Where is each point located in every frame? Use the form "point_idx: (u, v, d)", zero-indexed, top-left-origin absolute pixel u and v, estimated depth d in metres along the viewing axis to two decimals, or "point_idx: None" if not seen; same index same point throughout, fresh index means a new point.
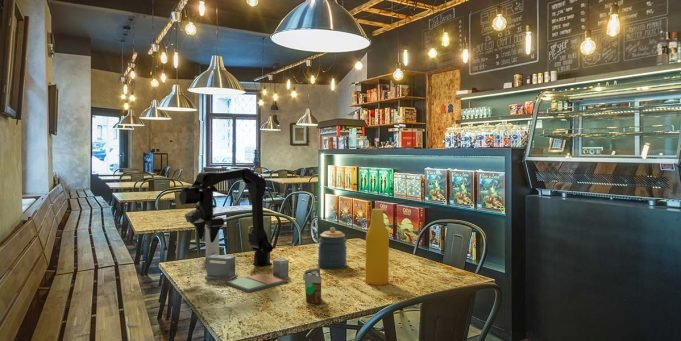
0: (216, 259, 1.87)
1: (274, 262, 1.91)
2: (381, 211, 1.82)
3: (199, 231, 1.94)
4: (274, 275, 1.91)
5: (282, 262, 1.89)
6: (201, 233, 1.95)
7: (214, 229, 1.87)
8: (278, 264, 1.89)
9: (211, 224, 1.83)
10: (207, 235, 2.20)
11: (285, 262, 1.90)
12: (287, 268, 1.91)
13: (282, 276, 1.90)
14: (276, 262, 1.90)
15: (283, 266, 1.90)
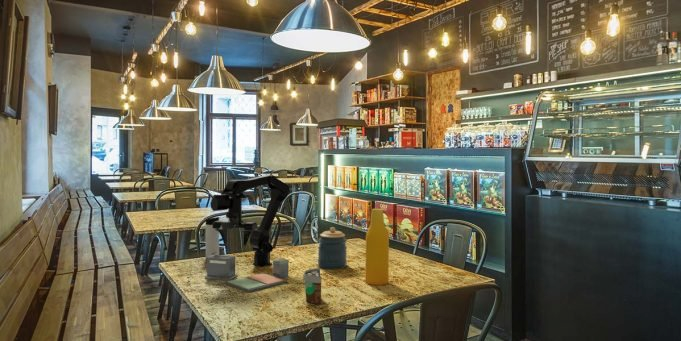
0: (216, 259, 1.87)
1: (274, 262, 1.91)
2: (381, 211, 1.82)
3: (224, 237, 2.02)
4: (274, 275, 1.91)
5: (282, 262, 1.90)
6: (225, 238, 2.03)
7: (247, 233, 2.00)
8: (278, 264, 1.89)
9: (251, 228, 1.96)
10: (207, 235, 2.20)
11: (285, 262, 1.90)
12: (287, 268, 1.91)
13: (282, 276, 1.90)
14: (276, 262, 1.90)
15: (283, 266, 1.90)
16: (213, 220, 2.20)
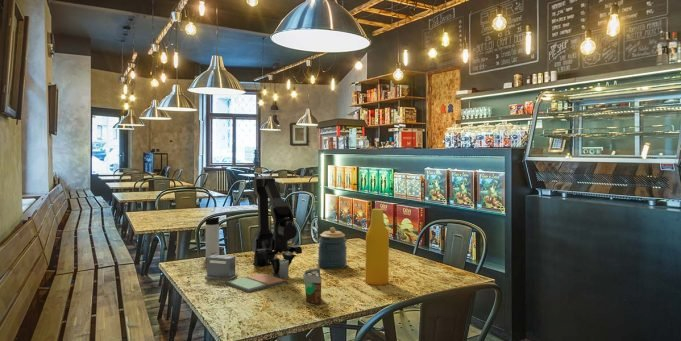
0: (216, 259, 1.87)
1: None
2: (381, 211, 1.82)
3: None
4: (274, 275, 1.91)
5: (282, 262, 1.90)
6: None
7: (274, 261, 1.89)
8: None
9: None
10: (207, 235, 2.20)
11: (285, 262, 1.90)
12: (287, 268, 1.91)
13: (282, 276, 1.90)
14: None
15: (283, 266, 1.90)
16: (213, 220, 2.20)
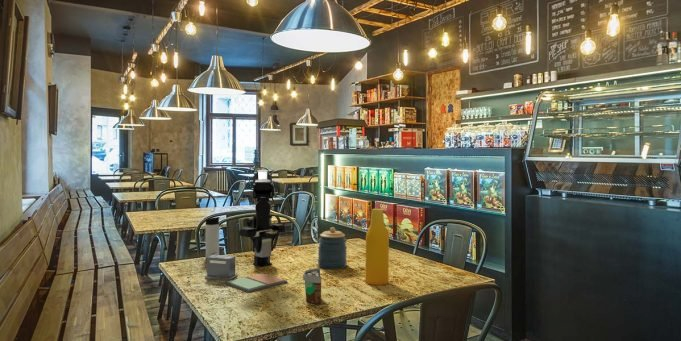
0: (216, 259, 1.87)
1: None
2: (381, 211, 1.82)
3: None
4: (256, 254, 1.83)
5: (265, 240, 1.82)
6: None
7: (256, 239, 1.81)
8: None
9: None
10: (207, 235, 2.20)
11: (267, 240, 1.83)
12: (270, 247, 1.83)
13: (264, 255, 1.82)
14: None
15: (265, 244, 1.82)
16: (213, 220, 2.20)
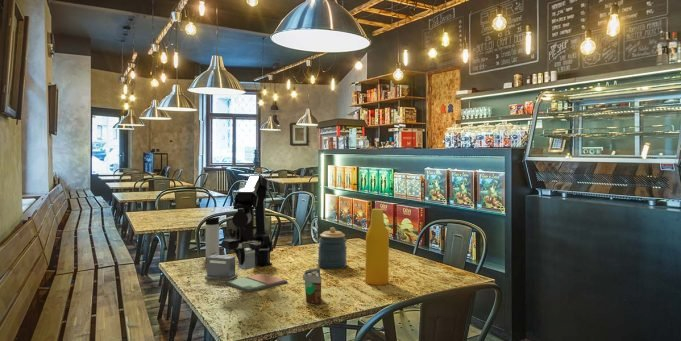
0: (216, 259, 1.87)
1: None
2: (381, 211, 1.82)
3: None
4: (239, 266, 1.78)
5: (248, 251, 1.76)
6: None
7: (239, 251, 1.75)
8: None
9: None
10: (207, 235, 2.20)
11: (251, 252, 1.77)
12: (253, 258, 1.78)
13: (248, 267, 1.76)
14: None
15: (249, 256, 1.76)
16: (213, 220, 2.20)
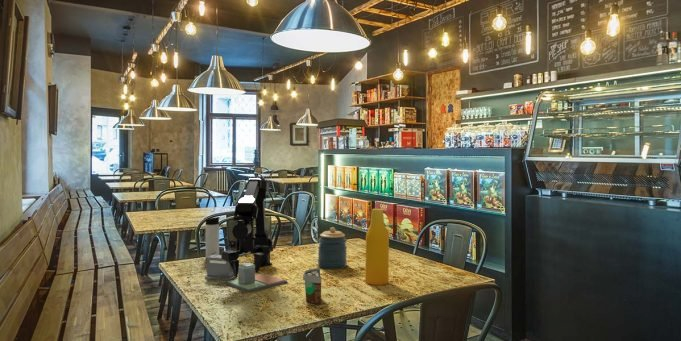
0: (216, 259, 1.87)
1: (239, 267, 1.77)
2: (381, 211, 1.82)
3: (255, 264, 1.82)
4: (239, 281, 1.78)
5: (248, 267, 1.76)
6: (256, 266, 1.81)
7: (234, 263, 1.74)
8: (243, 269, 1.76)
9: None
10: (207, 235, 2.20)
11: (251, 267, 1.77)
12: (253, 273, 1.78)
13: (248, 282, 1.76)
14: (241, 267, 1.77)
15: (249, 271, 1.76)
16: (213, 220, 2.20)
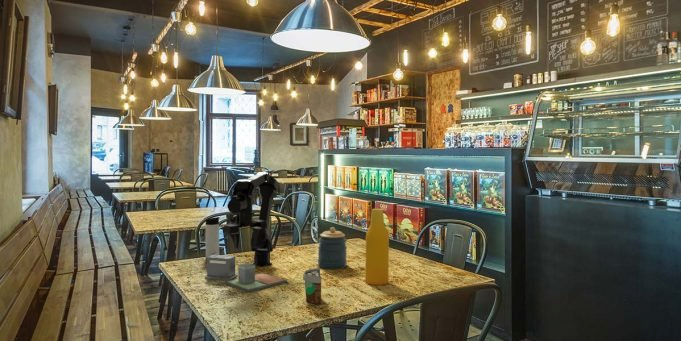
0: (216, 259, 1.87)
1: (239, 267, 1.77)
2: (381, 211, 1.82)
3: (254, 237, 1.99)
4: (239, 281, 1.78)
5: (248, 267, 1.76)
6: (255, 239, 1.98)
7: (234, 236, 1.90)
8: (243, 269, 1.76)
9: None
10: (207, 235, 2.20)
11: (251, 267, 1.77)
12: (253, 273, 1.78)
13: (248, 282, 1.76)
14: (241, 267, 1.77)
15: (249, 271, 1.76)
16: (213, 220, 2.20)
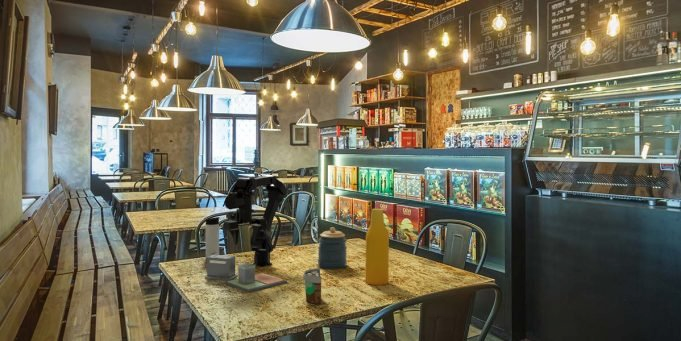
0: (216, 259, 1.87)
1: (239, 267, 1.77)
2: (381, 211, 1.82)
3: (253, 234, 2.04)
4: (239, 281, 1.78)
5: (248, 267, 1.76)
6: (254, 236, 2.03)
7: None
8: (243, 269, 1.76)
9: None
10: (207, 235, 2.20)
11: (251, 267, 1.77)
12: (253, 273, 1.78)
13: (248, 282, 1.76)
14: (241, 267, 1.77)
15: (249, 271, 1.76)
16: (213, 220, 2.20)
